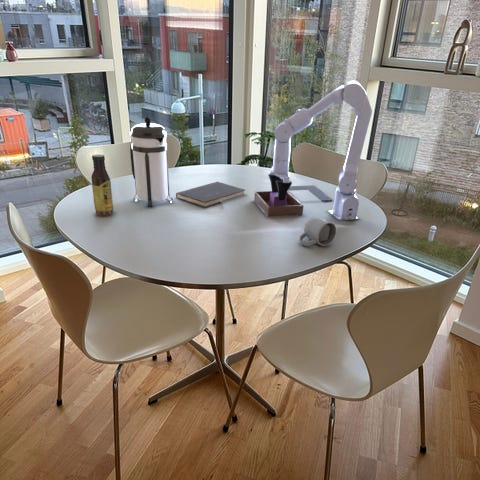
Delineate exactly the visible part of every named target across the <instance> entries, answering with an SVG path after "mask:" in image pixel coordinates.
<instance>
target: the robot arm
mask: <svg viewBox="0 0 480 480" xmlns="http://www.w3.org/2000/svg"><path fill="white" fill-rule="evenodd" d="M343 101H344V102H343ZM343 103H345V104H347V105H348V106H349V107H351V108H352V110H353V111H354V113H355V114H356V118H355V121H354V126H353V129H352V132H351V138H350V142H349V146H348V149H347V153H346V154H347V155H346V158H345V162H344V165H343V168H342V171H341V172H339V175H338V187H336V189H335V193H334V200H333V206H332V207H333V208H332V210H328V212H329V213H330V214H331V215H332V216H334V217H335V218H336V219H337V220H344V221H351V220H352V221H353V220H359V217H358V212H359V211H358V210H359V203H360V201H359V198H358V197H357V187H358V181H357V175H358V171H359V165H360V161H361V156H362V152H363V149H364V145H365V141H366V137H367V134H368V131H369V126H370V121H371V118H372V114H373V109H372V106H371V103H370V100H369V98H368V95H367V91H366V89H365V88H364V87H363V86H362V84H361V83H360V82H359V81H357V80H349V81H348V82H346V83H345V84H344V85H341V86H339V87H337V88H335V89H333V90H332V91H331V92H329V93H328V94H326V95H325V96H324V97H323V98H321V99H320V100H319V101H317V102H316V103H314V104H313V105H312V106H310V107H308V108H304V107H302V108H301V109H300V108H297V109H296V110H295V113H294V114H292V115H290V117H288V118H284V119H283V121H282V122H280V123H279V124H278V125H277V127H276V128H275V130H274V137H275V139H274V146H273V161H272V166H271V170H270V171H269V173H268V174H267V176H268V178H269V181H270V188H271V191H272V193H275V192H278V199H279V200H285V197H286V194H287V191H288V189H289V187H290V186H293V182H292V181H291V180H290V176H289V175H290V171H289V170H290V168H289V167H290V159H291V149H292V148H291V147H292V146H291V141H292V140H291V139H292V136H293V135H297V134H298V133H300V132H301V131H303V130H304V129H306V128H308V126H311V125H312V123H313V119H314V117H316V116H318V115H319V114H321V113H322V112H324V111H326V110H327V109H329V108H330V107H332V106H333V105H343ZM288 192H289V191H288Z"/></svg>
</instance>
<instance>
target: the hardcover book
mask: <svg viewBox="0 0 480 480" xmlns="http://www.w3.org/2000/svg"><path fill="white" fill-rule="evenodd" d="M245 191H246V189H244V188H241V187H238V186H234V185H230V184H227V183H224V182H220V181H215V182H211V183H207V184H203V185H200V186H199V185H198V186H196V187H193V188H189V189H185V190H182V191H178V192H175V198H176V199H177V200H179V201H183V202H186V203H189V204H192V205H195V206H198V207H201V208H204V209H207V208H209V207H213V206H216V205H219V204H221V202H222V201H226V200H229V199H233V198H235V197H239V196H242V195H245Z"/></svg>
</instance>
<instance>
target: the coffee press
mask: <svg viewBox="0 0 480 480" xmlns="http://www.w3.org/2000/svg"><path fill="white" fill-rule="evenodd" d="M144 122H145V123H140V124H136V125H134V126H133V127H132V128H131V131H130V132H129V134H130V137H131V142H130V147H129V152H130V154H129V155H130V166H131V173H132V177H133V179H134V185H135V194H134V197H133V198H132V199H133V201H134V202H138V200H140V201H142V202H147V208H153V203H157V202H162V201H167V202H168V203H170V204H172V203H173V201H174V199H173V197H172V196H171V193H170V178H169V177H170V175H169V156H168V153H169V152H168V143H167V136H168V132H167V131H166V129H165V127H163V126H162V125H160V124H157V123H151V122H152V118H151V117H150V116H146V117H145V118H144ZM136 197H137V199H136ZM169 198H170V200H169Z"/></svg>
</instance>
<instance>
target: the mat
mask: <svg viewBox="0 0 480 480" xmlns="http://www.w3.org/2000/svg"><path fill="white" fill-rule="evenodd" d="M289 191H309V192H310V193H311V194H312V195H313V196H315V197H316V199H318V200H319V201H321V203H322V202H332V201H333V199H332V198H331V197H329V196H328V195H327V194H325V193H324V192H322V191H321V190H320V189H319V188H318V187H316V186H315V185H291V186H290V187H289V189H288V192H289Z"/></svg>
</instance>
